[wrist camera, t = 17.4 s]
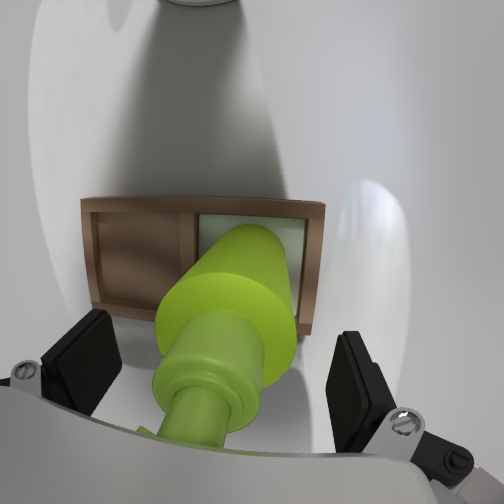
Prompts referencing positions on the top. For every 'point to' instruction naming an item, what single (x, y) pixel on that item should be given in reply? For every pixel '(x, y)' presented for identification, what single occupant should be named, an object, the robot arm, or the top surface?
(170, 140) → the top surface
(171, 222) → the wooden divided tray
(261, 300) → the soap dispenser
